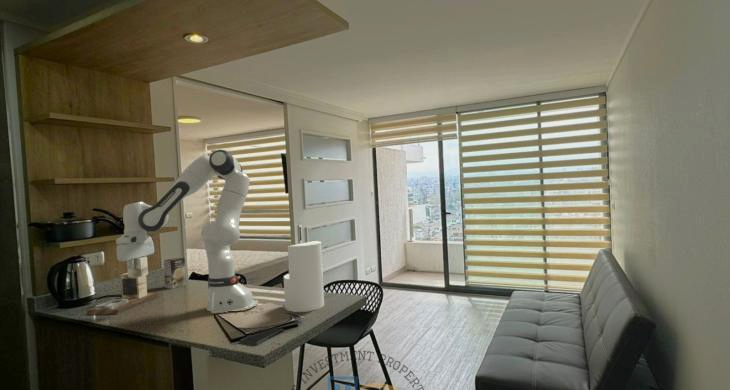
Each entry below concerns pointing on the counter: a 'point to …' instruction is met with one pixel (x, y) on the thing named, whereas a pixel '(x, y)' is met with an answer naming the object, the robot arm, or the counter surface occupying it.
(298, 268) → the cylinder
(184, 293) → the counter surface
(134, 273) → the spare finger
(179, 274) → the coffee box
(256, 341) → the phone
